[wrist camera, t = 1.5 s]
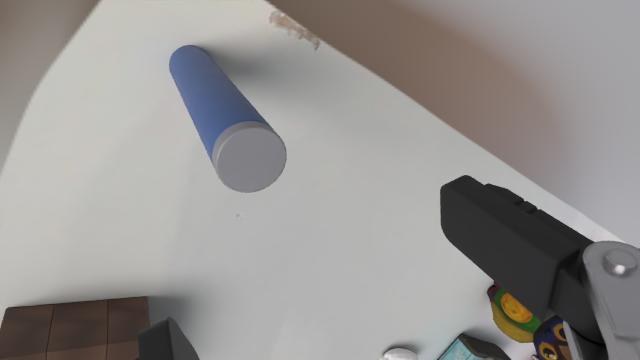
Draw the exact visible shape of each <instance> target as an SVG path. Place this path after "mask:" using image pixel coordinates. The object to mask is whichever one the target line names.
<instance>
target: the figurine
mask: <svg viewBox="0 0 640 360" xmlns="http://www.w3.org/2000/svg"><path fill="white" fill-rule="evenodd" d="M494 283H495V286H492V287H490V288H489V290H488V291H487V294H488V296H489V298H490V302H491V307H492V312H493V320H494V322H495V323H496V325H497V326H498V328H499V329H500V330H501V331H503V332H504V333H505V334H506V335H507V336H509V337H510V338H512V339H513V340H515V341H517V342H519V343H529V342H533V343H534V346H535V349H536V352H537V354H538V356H539V358H540V359H541V360H573V359H572V355H571V352H570V349H569V345H568V342H567V339H566V335H565V332H564V328H563V321H564V320H563V319H562V318H560V317H559V316H558V315H557V314H556V315H554V316H553V317H551V318H549V319H548V320H546V321H545V322H543V323H542V322H541V321H540V320H539V319H538V318H536V317H535V316H534V315H533V314H532V313H531V312H530V311H528V310H527V309H526V308H525V307H524V306H523V305H521V304H520V303H519V302H518V301H517V300H516V299H515V298H513V297H512V296H511V295H510V294H509V293H508V292H507V291H505V290H504V289H503V288H502V287H501V286H500V285H499V284H497V283H496V282H494Z"/></svg>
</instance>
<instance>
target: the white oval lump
mask: <svg viewBox="0 0 640 360" xmlns="http://www.w3.org/2000/svg"><path fill="white" fill-rule="evenodd" d="M380 360H418V356H417V355H416V354H415V353H414V352H412V351H409V350H406V349H402V348H395V349H391V350H389V351H388V352H386V353H385V354H384V356H383V357H382V358H381V359H380Z"/></svg>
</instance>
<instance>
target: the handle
mask: <svg viewBox="0 0 640 360" xmlns="http://www.w3.org/2000/svg"><path fill="white" fill-rule="evenodd" d="M169 68H170V72H171V75H172V77H173V79H174V81H175V83H176V86H177V88H178V90H179V92H180V94H181V96H182V99H183V101H184V103H185V105H186V107H187V109H188V112H189V114H190V116H191V118H192V120H193V123H194V125H195V127H196V129H197V131H198V133H199V136H200V138H201V140H202V142H203V144H204V146H205V149H206V151H207V153H208V155H209V157H210V160H211V162H212V164H213V166H214V168H215V170H216V173H217V175H218V177H219V179H220V180H221V181H222V182H223V183H224V184H225V185H226V186H227V187H229V188H230V189H232V190H235V191H238V192H245V193H247V192H256V191H259V190H262V189H264V188H266V187H268V186H269V185H271V184H272V183H273V182H275V181H276V180H277V178H278V177H279V176H280V174H281V173H282V171H283V169H284V167H285V163H286V148H285V145H284V143H283V141H282V139H281V138H280V137H279V135H278V134H277V133H276V132H275V131H274V130H273V129H272V127H271V126H270V125H269V124H268V123H267V122H266V121H265V119H264V118H263V117H262V116H261V115H260V114H259V113H258V111H257V110H256V109H255V108H254V107H253V106H252V105H251V103H250V102H249V101H248V100H247V99H246V98H245V97H244V95H243V94H242V93H241V92H240V91H239V90H238V89H237V87H236V86H235V85H234V84H233V83H232V82H231V81H230V79H229V78H228V77H227V76H226V75H225V74H224V73H223V71H222V70H221V69H220V68H219V67H218V66H217V65H216V63H215V62H214V61H213V60H212V59H211V58H210V57H209V55H208V54H207V53H206V52H205V51H204V50H202V49H201V48H199V47H196V46H183V47H181V48H179V49H177V50H176V51H175V52H174V53H173V54H172V56H171V58H170V62H169Z"/></svg>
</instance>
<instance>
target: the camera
mask: <svg viewBox="0 0 640 360" xmlns="http://www.w3.org/2000/svg"><path fill="white" fill-rule="evenodd" d="M439 360H511V359H510V358H509V357H508V355H507V354H506V353H505V352H504V351H503V350H502V349H501V348H500V347H498V346H497V345H495V344H492V343H488V342H485V341H482V340H479V339H476V338H473V337H470V336H467V335H464V334H461V335H460V336H459V337H458V338H457V339H456V341H455V342H454V343H453V344H452V345H451V346H450V347H449V348H448V350H447V351H446V352H445V353H444V354H443V355H442V356H441V357H440V358H439Z"/></svg>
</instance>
